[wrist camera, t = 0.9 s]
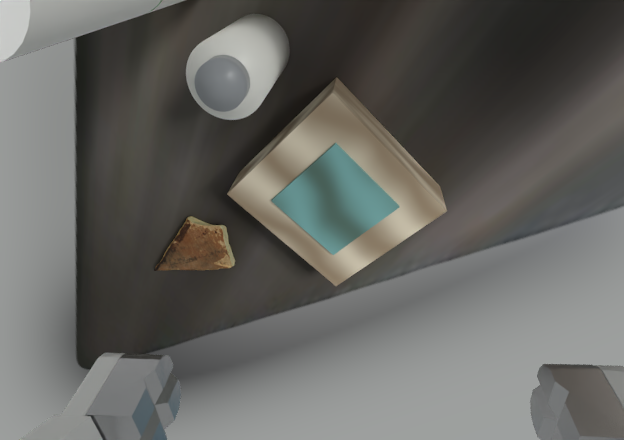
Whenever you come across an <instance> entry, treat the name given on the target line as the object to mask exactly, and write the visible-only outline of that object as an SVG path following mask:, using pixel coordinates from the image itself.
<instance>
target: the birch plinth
mask: <svg viewBox="0 0 624 440" xmlns="http://www.w3.org/2000/svg"><path fill="white" fill-rule="evenodd" d="M227 195H228V196H230V197H231V198H232V199H233V200H234V201H235V202H237V203H238V204H239V205H240V206H241V207H243V208H244V209H245V210H246V211H247V212H249V213H250V214H251V215H252V216H253V217H254V218H256V219H257V220H258V221H259V222H260V223H262V224H263V225H264V226H265V227H266V228H268V229H269V230H270V231H271V232H272V233H273V234H275V235H276V236H277V237H278V238H279V239H281V240H282V241H283V242H284V243H285V244H287V245H288V246H289V247H290V248H291V249H292V250H294V251H295V252H296V253H297V254H298V255H300V256H301V257H302V258H303V259H304V260H305V261H307V262H308V263H309V264H310V265H311V266H313V267H314V268H315V269H316V270H317V271H319V272H320V273H321V274H322V275H323V276H324V277H326V278H327V279H328V280H329V281H330V282H332V283H333V284H334V285H335V286H337V285H339V284H340V283H342V282H343V281H345V280H346V279H347V278H349V277H350V276H352V275H353V274H355V273H356V272H358V271H359V270H361V269H362V268H364V267H365V266H367V265H368V264H370V263H371V262H373V261H374V260H376V259H377V258H379V257H380V256H381V255H383V254H384V253H386V252H387V251H389V250H390V249H392V248H393V247H395V246H396V245H398V244H399V243H401V242H402V241H404V240H405V239H407V238H408V237H410V236H411V235H412V234H414V233H415V232H417V231H418V230H420V229H421V228H423V227H424V226H426V225H427V224H429V223H430V222H432V221H433V220H435V219H436V218H438V217H439V216H441V215H442V214H443V213H445V212H446V211H447V210H446V206H445V202H444V199H443V195H442V191H441V188H440V186H439V185H438V184H437V183H436V182H435V181H434V180H433V179H432V177H431V176H430V175H429V174H428V173H427V172H426V171H425V170H424V169H423V168H422V167H421V166H420V165H419V164H418V163H417V162H416V161H415V159H414V158H413V157H412V156H411V155H410V154H409V153H408V152H407V151H406V150H405V149H404V148H403V147H402V146H401V145H400V144H399V143H398V141H397V140H396V139H395V138H394V137H393V136H392V135H391V134H390V133H389V132H388V131H387V130H386V129H385V128H384V127H383V126H382V125H381V123H380V122H379V121H378V120H377V119H376V118H375V117H374V116H373V115H372V114H371V113H370V112H369V111H368V110H367V109H366V108H365V106H364V105H363V104H362V103H361V102H360V101H359V100H358V99H357V98H356V97H355V96H354V95H353V94H352V93H351V92H350V91H349V90H348V88H347V87H346V86H345V85H344V84H343V83H342V82H341V81H340V80H339V79H338V78H337V77H336V78H335V79H334V80H333V81H332V82H331V83H330V84H329V85H328V86H327V87H326V88H325V89H324V90H323V91H322V92H321V93H320V94H319V95H318V96H317V97H316V98H315V99H314V100H313V101H312V102H311V103H310V104H308V105H307V106H306V107H305V108H304V109H303V110H302V111H301V112H300V113H299V114H298V115H297V116H296V117H295V118H294V119H293V120H292V121H291V122H290V123H289V124H288V125H287V126H286V127H285V128H284V129H283V130H282V131H281V132H280V133H279V134H278V135H277V136H276V137H275V138H274V139H273V140H272V141H271V142H270V143H269V144H268V145H267V146H266V147H265V148H264V149H263V150H262V151H261V152H259V153H258V154H257V155H256V156H255V157H254V158H253V159H252V160H251V161H250V162H249V163H248V164H247V165H246V166H245V167H244V168H243V169H242V170H241V171H240V172H239V174H238V176H237V177H236V179H235V181H234V183H233V184H232V186H231V188H230V190H229V192H228V193H227Z"/></svg>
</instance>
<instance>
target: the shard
mask: <svg viewBox="0 0 624 440" xmlns="http://www.w3.org/2000/svg"><path fill="white" fill-rule="evenodd" d="M234 264H235V259H234V257H233V254H232V251H231V247H230V245H229V241H228V234H227V228H226V226H224V225H211V224H208V223H205V222H203V221H201V220H198V219H196V218H194V217H192V216H190V217H188V218H187V219H186V222H185V223H184V225H183V226H182V228H181V229H180V231H179V232H178V234H177V236H176V237H175V239H174V240H173V242H172V243H171V244H170V245H169V247H168V249H167V250H166V252H165V254H164V256H163V258H162V260H161V262H160V263H159V264H158V265H157V266H156V268H155V270H154V271H157V270H173V269H174V270H214V269H220V268H231V267H232V266H234Z"/></svg>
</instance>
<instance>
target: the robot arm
mask: <svg viewBox="0 0 624 440" xmlns="http://www.w3.org/2000/svg"><path fill="white" fill-rule="evenodd" d="M172 368H173V364H172V361H171V358H170V356H166V355H149V354H130V353H104V354H103V355H101V356H100V357H99V358H98V359H97V360H96V362H95V363H94V365H93V366H92V368H91V369H90V371H89V373H88V374H87V376H86V377H85V379H84V380H83V382H82V383H81V385H80V386H79V388H78V389H77V391H76V392H75V394H74V395H73V397H72V399H71V400H70V402H69V403H68V405H67V406H66V408H65V409H64V411H63V412H62V414H61V415H53V416H52V417H51V418H50V419H48V420H46V421H45V422H44V423H42V424H41V425H39V426H38V427H36V428H35V429H34V430H32V431H31V432H30V433H28V434H27V435H25V436H24V437H23V438H21V439H19V440H167V437H166V433H165V430H164V429H165V428H166V427H168V426H169V425H170V424H171V423H172V422H173V421H174V420H175V418H176V415H177V413H178V410H179V406H180V399H181V388H180V383H179V380H178V378H176V377H175V376H174V375H173V374H171V370H172ZM537 377H538V380H539V382H540V385H539V386H538V387H537V388H535V389H534V390H533V392H532V396H531V401H530V402H531V416H532V421H533V425H534V428H535V431H536V434H537V437H539V438H540V439H541V440H624V367H623V366H602V365H595V366H593V365H567V364H565V365H564V364H543V365H542V366H541V367H540V368H539V371H538V375H537Z"/></svg>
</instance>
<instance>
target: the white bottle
mask: <svg viewBox="0 0 624 440" xmlns="http://www.w3.org/2000/svg"><path fill="white" fill-rule="evenodd" d="M289 55H290V45H289V40H288V37H287V35H286V33H285V31H284V29H283V28H282V27H281V26H280V24H279V23H277V22H276V21H275V20H274V19H272V18H270V17H269V16H266V15H262V14H249V15H246V16H243V17H242V18H240V19H238V20H237V21H235V22H233V23H232V24H230V25H229V26H227V27H225V28H224V29H222V30H220V31H219V32H217V33H216V34H214V35H212V36H211V37H209V38H207V39H206V40H204V41H203V42H201V43H200V44H198V45H197V46H196V47H195V48H194V49H193V51H192V52H191V54H190V56H189V58H188V61H187V66H186V80H187V84H188V87H189V90H190V92H191V94H192V96H193V98H194V99H195V101H196V102H197V103H198V104H199V105H200V106H201V107H202V108H203V109H204V110H205V111H206V112H208V113H210V114H211V115H213V116H215V117H218V118H221V119H226V120H237V119H242V118H245V117H247V116H249V115H251V114H252V113H254V112H255V111H256V110H257V109H258V107H259V106H260V105H261V103H262V102H263V100H264V99H265V97H266V96H267V94H268V93H269V91H270V90H271V88H272V87H273V85H274V84H275V82H276V81H277V79H278V78H279V76H280V75H281V73H282V72H283V70H284V69H285V67H286V65H287V63H288V60H289Z"/></svg>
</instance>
